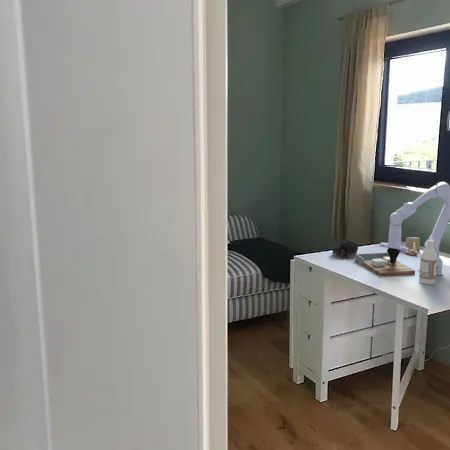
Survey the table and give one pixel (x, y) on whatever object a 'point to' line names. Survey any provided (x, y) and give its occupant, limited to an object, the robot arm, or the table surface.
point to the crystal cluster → (346, 249)
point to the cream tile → (388, 260)
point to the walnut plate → (390, 269)
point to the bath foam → (428, 264)
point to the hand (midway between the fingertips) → (392, 263)
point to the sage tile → (378, 262)
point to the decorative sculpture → (412, 245)
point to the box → (369, 257)
